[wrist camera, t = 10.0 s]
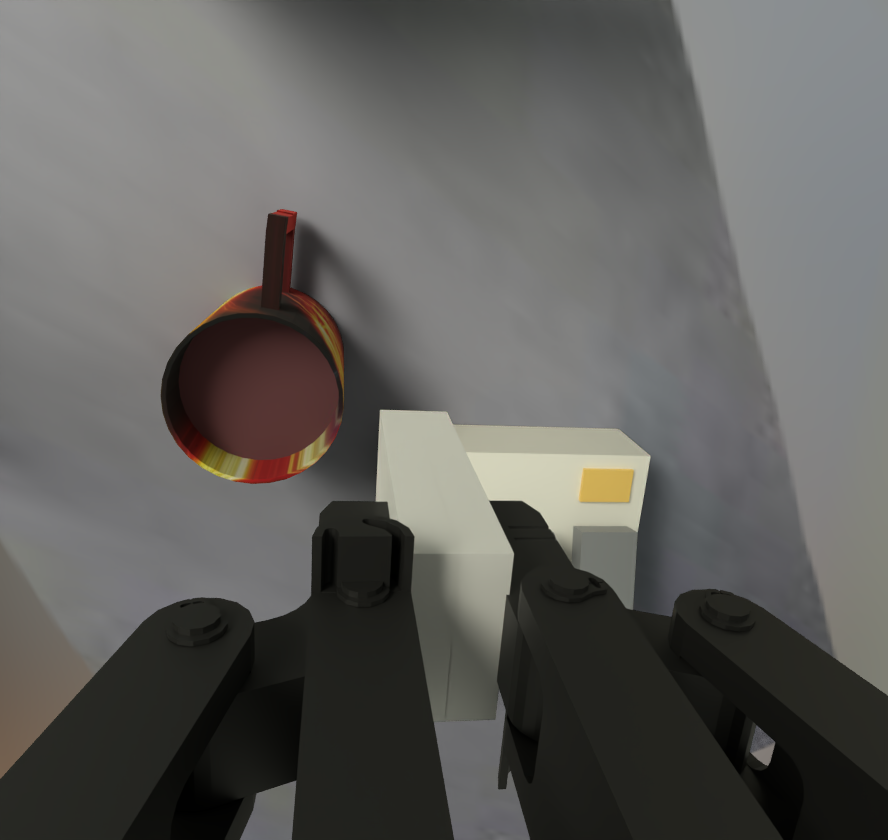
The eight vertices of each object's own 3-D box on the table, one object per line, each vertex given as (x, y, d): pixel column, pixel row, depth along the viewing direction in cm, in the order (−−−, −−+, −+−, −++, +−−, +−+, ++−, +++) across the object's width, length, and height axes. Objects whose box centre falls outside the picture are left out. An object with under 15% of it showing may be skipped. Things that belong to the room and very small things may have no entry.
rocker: (573, 526, 49) (582, 532, 47) (626, 526, 50) (638, 532, 48) (567, 635, 50) (576, 646, 48) (620, 634, 50) (631, 645, 48)
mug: (296, 205, 46) (280, 207, 35) (362, 395, 51) (367, 452, 39) (155, 248, 46) (93, 266, 34) (235, 436, 50) (203, 505, 39)
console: (388, 422, 51) (394, 454, 45) (618, 428, 54) (654, 459, 48) (377, 631, 57) (381, 686, 50) (588, 627, 59) (617, 679, 53)
